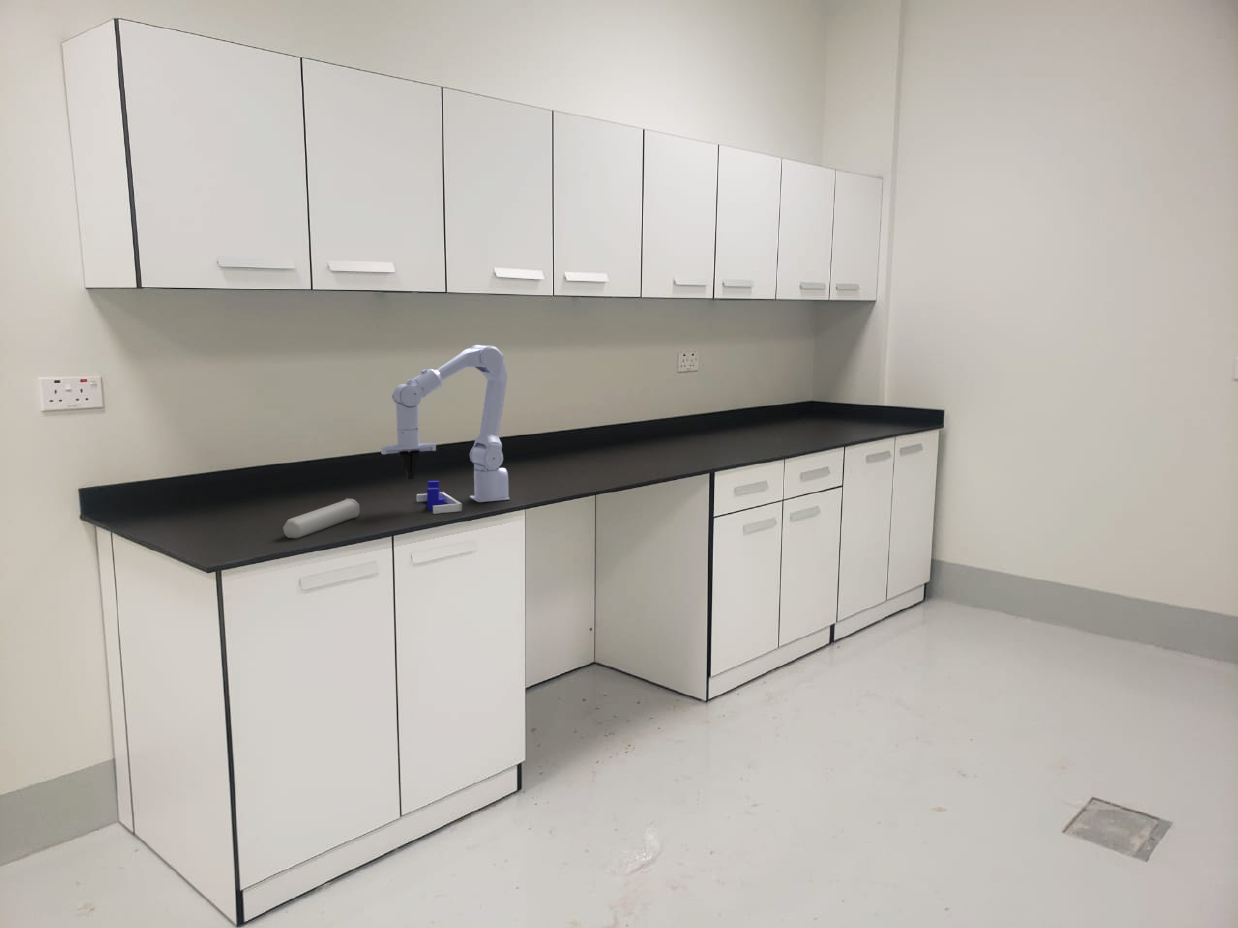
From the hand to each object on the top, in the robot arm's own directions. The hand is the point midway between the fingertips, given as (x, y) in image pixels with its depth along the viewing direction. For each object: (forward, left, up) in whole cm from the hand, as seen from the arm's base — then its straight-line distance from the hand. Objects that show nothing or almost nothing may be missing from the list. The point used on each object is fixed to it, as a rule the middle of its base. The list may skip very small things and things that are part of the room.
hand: (409, 478), depth 239 cm
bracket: (-7, 0, -8) cm, 11 cm away
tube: (+25, +12, -9) cm, 29 cm away
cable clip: (-8, -2, -9) cm, 12 cm away
